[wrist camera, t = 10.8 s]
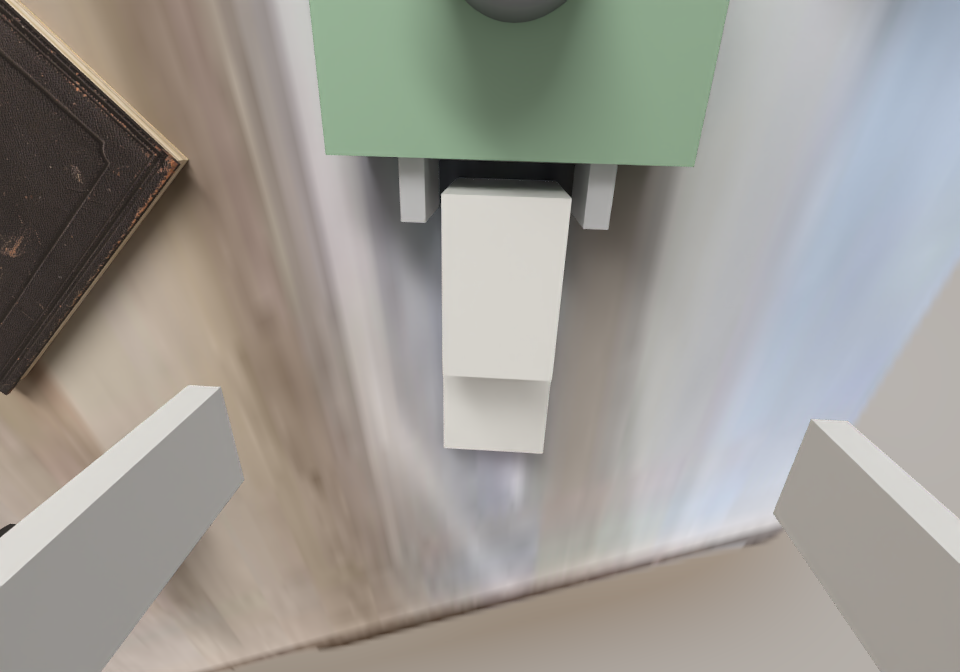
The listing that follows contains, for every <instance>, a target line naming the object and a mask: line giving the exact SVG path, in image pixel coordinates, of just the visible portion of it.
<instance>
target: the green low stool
mask: <svg viewBox="0 0 960 672" xmlns="http://www.w3.org/2000/svg"><path fill="white" fill-rule="evenodd" d="M309 5H310V14H311V23H312V32H313V42H314V51H315V60H316V69H317V79H318V88H319V97H320V106H321V116H322V125H323V134H324V143H325V153H326V155H349V156H379V157H398V166H399V188H400V210H401V222H419V223H426V222H427V220H428V219H429V218H430V217H431V216H432V215H433V213H434V212H435V211H436V210H437V209H438V208H439V206H440V197H439V160H467V161H497V162H527V163H557V164H575V170H574V179H573V188H572V202H571V211H570V212H571V213H572V215H573V216H574V217H575V219H576V220H577V221H578V223H579V224H580V226H581V227H582V228H583V229H599V230H608V228H609V221H610V214H611V207H612V201H613V194H614V187H615V180H616V173H617V166H618V164H621V165H651V166H681V167H694V164H695V160H696V155H697V150H698V146H699V141H700V136H701V132H702V127H703V122H704V118H705V113H706V108H707V103H708V99H709V94H710V89H711V85H712V80H713V75H714V71H715V66H716V61H717V56H718V52H719V47H720V42H721V38H722V33H723V28H724V24H725V19H726V14H727V9H728V5H729V0H309Z"/></svg>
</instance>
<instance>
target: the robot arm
mask: <svg viewBox="0 0 960 672" xmlns="http://www.w3.org/2000/svg"><path fill="white" fill-rule="evenodd" d="M243 481H244V477H243V473H242V469H241V465H240V461H239V457H238V453H237V449H236V445H235V441H234V437H233V433H232V429H231V425H230V421H229V417H228V413H227V409H226V406H225V402H224V398H223V394H222V390H221V387H213V386H195V385H188V386H187V387H185V388H184V389H183V390H182V391H180V392H179V393H178V394H177V395H176V396H174V397H173V398H172V399H171V400H169V401H168V402H167V403H166V404H164V405H163V406H162V407H161V408H159V409H158V410H157V411H156V412H155V413H153V414H152V415H151V416H150V417H148V418H147V419H146V420H145V421H143V422H142V423H141V424H140V425H139V426H137V427H136V428H135V429H134V430H132V431H131V432H130V433H129V434H127V435H126V436H125V437H124V438H122V439H121V440H120V441H119V442H118V443H116V444H115V445H114V446H113V447H111V448H110V449H109V450H108V451H106V452H105V453H104V454H103V455H102V456H100V457H99V458H98V459H97V460H95V461H94V462H93V463H92V464H90V465H89V466H88V467H87V468H85V469H84V470H83V471H82V472H81V473H79V474H78V475H77V476H76V477H74V478H73V479H72V480H71V481H69V482H68V483H67V484H66V485H65V486H63V487H62V488H61V489H60V490H58V491H57V492H56V493H55V494H53V495H52V496H51V497H50V498H48V499H47V500H46V501H45V502H44V503H42V504H41V505H40V506H39V507H37V508H36V509H35V510H34V511H32V512H31V513H30V514H29V515H28V516H26V517H25V518H24V519H23V520H21V521H20V522H19V523H18V524H9V525H7V526H6V527H4V528H2V529H0V672H101V671H102V670H103V668H104V667H105V666H106V664H107V663H108V662H109V660H110V659H111V658H112V656H113V655H114V654H115V652H116V651H117V650H118V648H119V647H120V646H121V644H122V643H123V642H124V640H125V639H126V638H127V636H128V635H129V634H130V632H131V631H132V630H133V628H134V627H135V626H136V624H137V623H138V622H139V620H140V619H141V618H142V616H143V615H144V613H145V612H146V611H147V609H148V608H149V607H150V605H151V604H152V603H153V601H154V600H155V599H156V597H157V596H158V595H159V593H160V592H161V591H162V589H163V588H164V587H165V585H166V584H167V583H168V581H169V580H170V579H171V577H172V576H173V575H174V573H175V572H176V571H177V569H178V568H179V567H180V565H181V564H182V563H183V561H184V560H185V559H186V557H187V556H188V555H189V553H190V552H191V551H192V549H193V548H194V547H195V545H196V544H197V543H198V541H199V540H200V538H201V537H202V536H203V534H204V533H205V532H206V530H207V529H208V528H209V526H210V525H211V524H212V522H213V521H214V520H215V518H216V517H217V516H218V514H219V513H220V512H221V510H222V509H223V508H224V506H225V505H226V504H227V502H228V501H229V500H230V498H231V497H232V496H233V494H234V493H235V492H236V490H237V489H238V488H239V486H240V485H241V484H242V482H243ZM773 514H774V515H775V517H776V518H777V520H778V521H779V523H780V524H781V526H782V527H783V529H784V530H785V532H786V533H787V535H788V536H789V538H790V539H791V540H792V542H793V543H794V545H795V546H796V548H797V549H798V551H799V552H800V554H801V555H802V556H803V558H804V559H805V561H806V563H807V564H808V565H809V567H810V568H811V570H812V571H813V573H814V574H815V576H816V577H817V579H818V580H819V581H820V583H821V585H822V586H823V588H824V589H825V591H826V592H827V593H828V595H829V596H830V598H831V599H832V601H833V602H834V604H835V605H836V607H837V608H838V610H839V611H840V613H841V614H842V615H843V617H844V619H845V620H846V621H847V623H848V624H849V626H850V627H851V629H852V630H853V632H854V633H855V635H856V636H857V638H858V639H859V640H860V642H861V644H862V645H863V646H864V648H865V649H866V651H867V652H868V654H869V655H870V657H871V658H872V660H873V661H874V663H875V664H876V666H877V667H878V669H879V670H880V671H881V672H960V519H959V518H958V517H957V516H956V515H955V514H953V513H952V512H951V511H950V510H949V509H948V508H947V507H945V506H944V505H943V504H942V503H941V502H940V501H938V500H937V499H936V498H935V497H934V496H933V495H932V494H931V493H929V492H928V491H927V490H926V489H925V488H924V487H923V486H921V485H920V484H919V483H918V482H917V481H916V480H914V479H913V478H912V477H911V476H910V475H909V474H908V473H907V472H905V471H904V470H903V469H902V468H901V467H900V466H899V465H897V464H896V463H895V462H894V461H893V460H892V459H891V458H889V457H888V456H887V455H886V454H885V453H884V452H883V451H881V450H880V449H879V448H878V447H877V446H876V445H875V444H873V443H872V442H871V441H870V440H869V439H868V438H867V437H865V436H864V435H863V434H862V433H861V432H860V431H859V430H857V429H856V428H855V427H854V426H853V425H852V424H851V423H849V422H848V421H838V420H820V419H811V421H810V423H809V426H808V428H807V431H806V433H805V436H804V438H803V440H802V443H801V445H800V448H799V450H798V453H797V455H796V458H795V460H794V463H793V465H792V468H791V470H790V472H789V475H788V477H787V480H786V482H785V485H784V487H783V490H782V492H781V495H780V497H779V500H778V502H777V504H776V507H775V509H774V512H773Z"/></svg>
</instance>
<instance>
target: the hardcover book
mask: <svg viewBox="0 0 960 672" xmlns="http://www.w3.org/2000/svg"><path fill="white" fill-rule="evenodd" d="M188 160H189V159H187V158H186V157H185V156H184V155H183V154H182V153H181V152H180V151H179V150H178V149H177V148H176V147H175V146H174V145H173V144H172V143H170V142H169V141H168V140H167V139H166V138H165V137H164V136H163V135H162V134H161V133H160V132H159V131H158V130H157V129H156V128H154V127H153V126H152V125H151V124H150V123H149V122H148V121H147V120H146V119H145V118H144V117H143V116H142V115H141V114H140V113H139V112H137V111H136V110H135V109H134V108H133V107H132V106H131V105H130V104H129V103H128V102H127V101H126V100H125V99H124V98H123V97H121V96H120V95H119V94H118V93H117V92H116V91H115V90H114V89H113V88H112V87H111V86H110V85H109V84H108V83H107V82H105V81H104V80H103V79H102V78H101V77H100V76H99V75H98V74H97V73H96V72H95V71H94V70H93V69H92V68H91V67H90V66H88V65H87V64H86V63H85V62H84V61H83V60H82V59H81V58H80V57H79V56H78V55H77V54H76V53H75V52H74V51H72V50H71V49H70V48H69V47H68V46H67V45H66V44H65V43H64V42H63V41H62V40H61V39H60V38H59V37H58V36H56V35H55V34H54V33H53V32H52V31H51V30H50V29H49V28H48V27H47V26H46V25H45V24H44V23H43V22H42V21H41V20H39V19H38V18H37V17H36V16H35V15H34V14H33V13H32V12H31V11H30V10H29V9H28V8H27V7H26V6H25V5H23V4H22V3H21V2H20V1H19V0H0V391H1V392H2V393H4V394H5V395H7V394H9V393H10V392H11V391H12V390H13V388H14V387H15V386H16V384H17V383H18V382H19V381H20V380H21V379H23V378H25V377H26V376H27V375H28V373H29V372H30V371H31V369H32V368H33V367H34V365H35V364H36V363H37V361H38V360H39V359H40V357H41V356H42V355H43V353H44V352H45V351H46V349H47V348H48V347H49V345H50V344H51V343H52V341H53V340H54V339H55V337H56V336H57V335H58V333H59V332H60V331H61V329H62V328H63V327H64V325H65V324H66V323H67V321H68V320H69V319H70V317H71V316H72V315H73V313H74V312H75V311H76V309H77V308H78V307H79V305H80V304H81V303H82V301H83V300H84V299H85V297H86V296H87V295H88V293H89V292H90V291H91V289H92V288H93V287H94V285H95V284H96V283H97V281H98V280H99V279H100V277H101V276H102V275H103V273H104V272H105V271H106V269H107V268H108V266H109V265H110V264H111V262H112V261H113V260H114V258H115V257H116V256H117V254H118V253H119V252H120V250H121V249H122V248H123V246H124V245H125V244H126V242H127V241H128V240H129V238H130V237H131V236H132V234H133V233H134V232H135V230H136V229H137V228H138V226H139V225H140V224H141V222H142V221H143V220H144V218H145V217H146V216H147V214H148V213H149V212H150V210H151V209H152V208H153V206H154V205H155V204H156V202H157V201H158V200H159V198H160V197H161V196H162V194H163V193H164V192H165V190H166V189H167V188H168V186H169V185H170V184H171V182H172V181H173V180H174V178H175V177H176V176H177V174H178V173H179V172H180V170H181V169H182V168H183V166H184V165H185V164H186V162H187V161H188Z"/></svg>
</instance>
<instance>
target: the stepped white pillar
mask: <svg viewBox="0 0 960 672" xmlns="http://www.w3.org/2000/svg"><path fill="white" fill-rule="evenodd" d="M571 202H572V198H571V197H570V196H569V195H568V194H567V193H566V192H565V190H564V189H563V188H562V187H561V186H560V185H559V184H558V182H557V181H543V180H515V179H487V178H459V177H458V178H457V179H456V180H455V181H454V182H453V183H452V184H451V185H450V186H449V187H448V188H447V189H446V190H445V191H444V192H443V193H442V194H441V231H442V364H443V402H444V448H454V449H471V450H488V451H505V452H521V453H538V454H543V447H544V438H545V429H546V419H547V410H548V401H549V392H550V383H551V381H552V374H553V365H554V356H555V347H556V338H557V329H558V320H559V311H560V302H561V293H562V283H563V274H564V265H565V256H566V247H567V238H568V229H569V220H570V211H571Z"/></svg>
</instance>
